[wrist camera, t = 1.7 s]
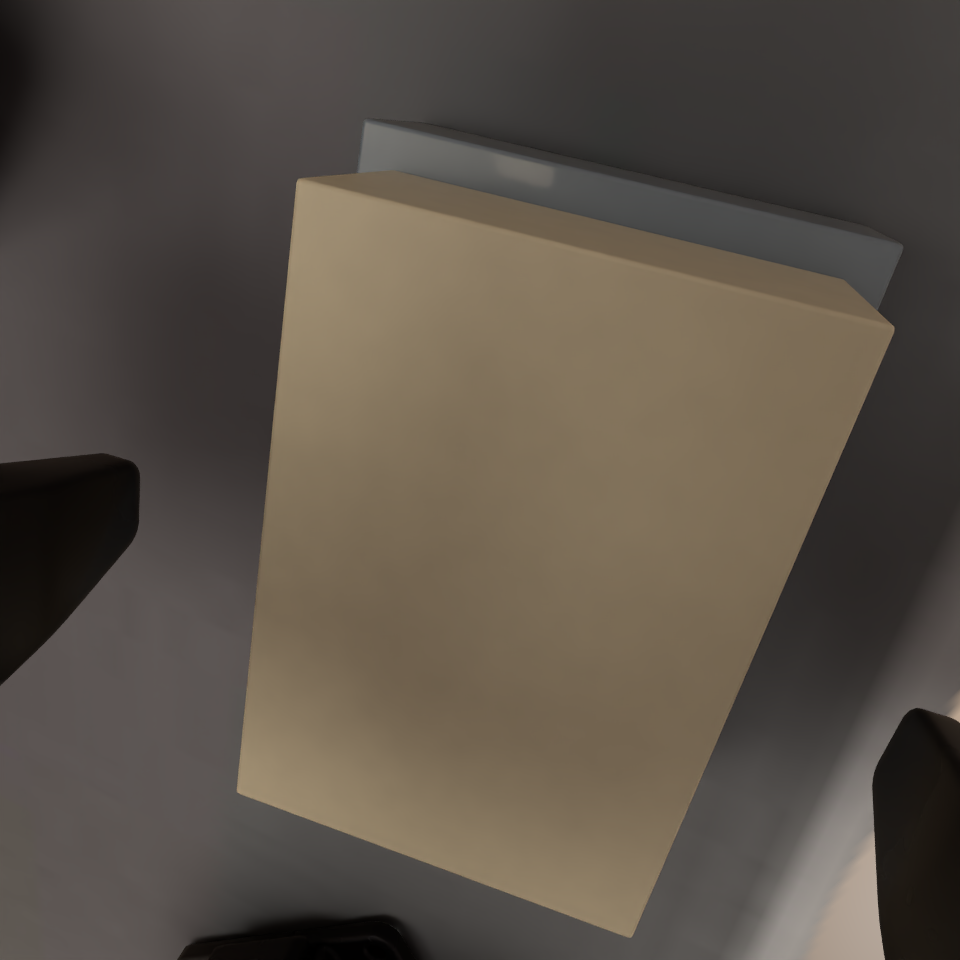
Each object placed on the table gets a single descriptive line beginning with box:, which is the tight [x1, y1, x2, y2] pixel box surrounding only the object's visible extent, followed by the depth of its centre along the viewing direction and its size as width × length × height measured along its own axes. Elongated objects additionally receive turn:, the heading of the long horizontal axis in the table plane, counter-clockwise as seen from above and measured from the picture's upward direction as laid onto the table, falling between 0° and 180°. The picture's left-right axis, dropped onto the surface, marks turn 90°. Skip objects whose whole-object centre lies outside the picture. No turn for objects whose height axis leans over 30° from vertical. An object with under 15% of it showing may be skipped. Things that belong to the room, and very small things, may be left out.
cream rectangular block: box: [237, 170, 894, 938], centre depth 10 cm, size 8×6×3 cm
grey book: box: [357, 118, 903, 311], centre depth 12 cm, size 9×6×2 cm
